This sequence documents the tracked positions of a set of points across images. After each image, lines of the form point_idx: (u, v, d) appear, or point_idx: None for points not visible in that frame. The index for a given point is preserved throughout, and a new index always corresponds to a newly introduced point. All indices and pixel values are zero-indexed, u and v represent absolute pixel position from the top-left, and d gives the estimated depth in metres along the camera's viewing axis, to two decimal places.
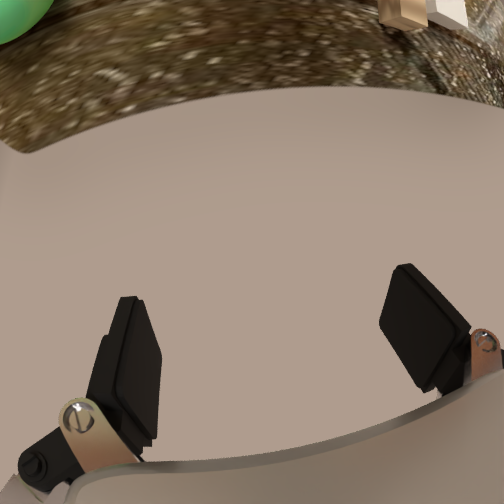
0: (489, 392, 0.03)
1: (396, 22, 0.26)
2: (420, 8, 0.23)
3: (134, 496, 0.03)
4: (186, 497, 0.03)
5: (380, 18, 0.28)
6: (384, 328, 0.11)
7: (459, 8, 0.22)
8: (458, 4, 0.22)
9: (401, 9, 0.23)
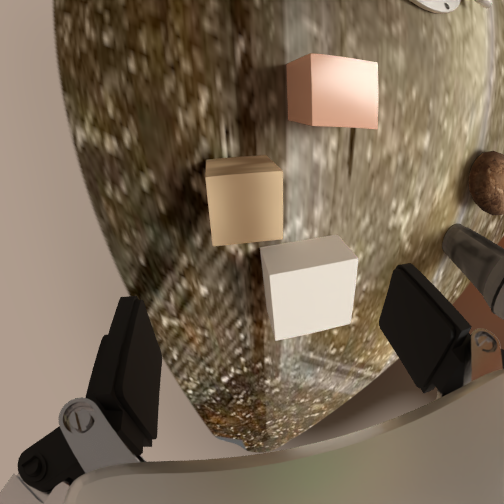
0: (489, 392, 0.03)
1: None
2: (252, 228, 0.20)
3: (134, 496, 0.03)
4: (186, 497, 0.03)
5: (215, 160, 0.23)
6: (384, 328, 0.11)
7: (309, 320, 0.27)
8: (316, 317, 0.27)
9: (225, 177, 0.18)
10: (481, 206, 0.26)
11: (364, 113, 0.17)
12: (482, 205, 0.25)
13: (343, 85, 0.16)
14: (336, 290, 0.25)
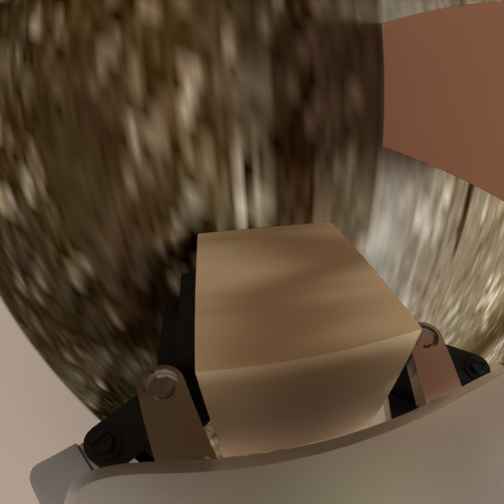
0: (489, 392, 0.03)
1: None
2: (314, 430, 0.07)
3: (134, 496, 0.03)
4: (186, 497, 0.03)
5: (218, 237, 0.10)
6: None
7: None
8: None
9: (260, 369, 0.05)
10: None
11: None
12: None
13: None
14: None
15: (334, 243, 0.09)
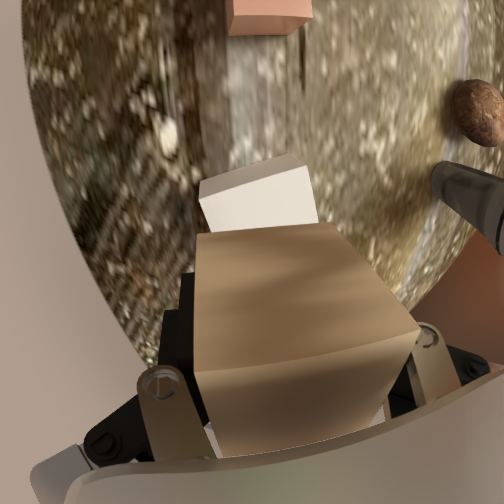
0: (489, 392, 0.03)
1: None
2: (313, 431, 0.07)
3: (135, 495, 0.03)
4: (186, 497, 0.03)
5: (218, 237, 0.10)
6: None
7: None
8: None
9: (259, 369, 0.05)
10: (470, 135, 0.21)
11: (295, 3, 0.13)
12: (471, 134, 0.21)
13: None
14: (290, 210, 0.21)
15: (333, 243, 0.09)
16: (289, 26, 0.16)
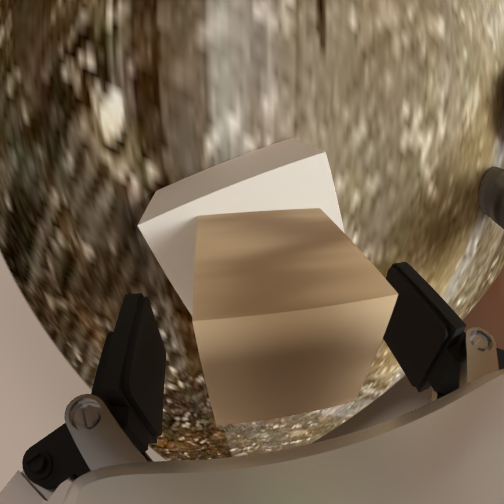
0: (489, 392, 0.03)
1: None
2: (302, 398, 0.08)
3: (134, 496, 0.03)
4: (186, 497, 0.03)
5: (216, 218, 0.11)
6: None
7: None
8: None
9: (250, 320, 0.06)
10: None
11: None
12: None
13: None
14: None
15: (321, 224, 0.10)
16: None
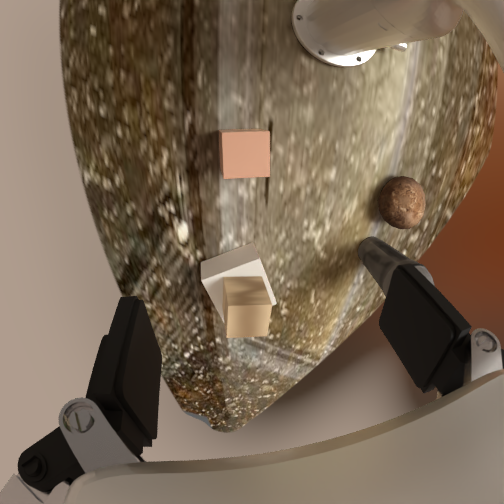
0: (489, 392, 0.03)
1: (225, 298, 0.35)
2: (250, 330, 0.34)
3: (135, 496, 0.03)
4: (186, 497, 0.03)
5: (229, 278, 0.36)
6: (384, 328, 0.11)
7: None
8: None
9: (239, 306, 0.32)
10: (388, 222, 0.39)
11: (259, 167, 0.30)
12: (388, 221, 0.39)
13: (244, 151, 0.29)
14: None
15: (260, 283, 0.36)
16: None
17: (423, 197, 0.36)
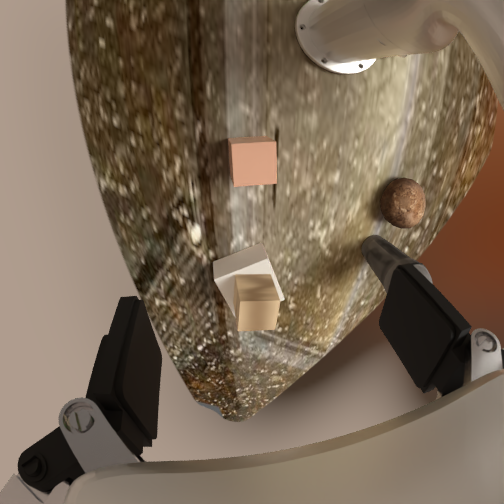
0: (489, 392, 0.03)
1: (236, 294, 0.38)
2: (260, 324, 0.37)
3: (134, 496, 0.03)
4: (186, 497, 0.03)
5: (240, 276, 0.39)
6: (384, 328, 0.11)
7: None
8: None
9: (250, 302, 0.35)
10: (390, 222, 0.41)
11: (267, 175, 0.32)
12: (390, 221, 0.41)
13: (252, 160, 0.31)
14: None
15: (269, 280, 0.39)
16: None
17: (423, 198, 0.38)
